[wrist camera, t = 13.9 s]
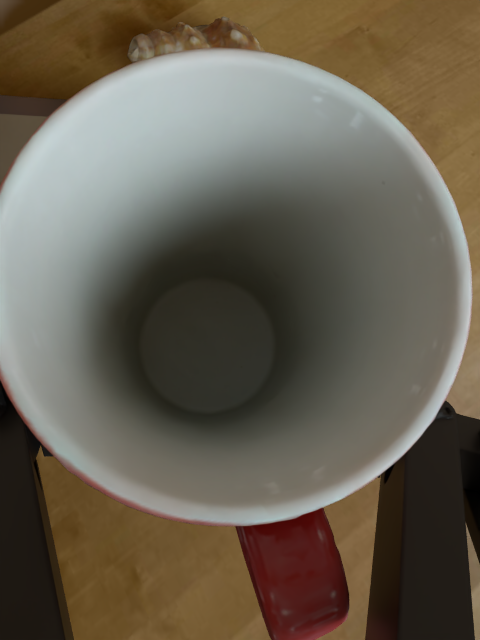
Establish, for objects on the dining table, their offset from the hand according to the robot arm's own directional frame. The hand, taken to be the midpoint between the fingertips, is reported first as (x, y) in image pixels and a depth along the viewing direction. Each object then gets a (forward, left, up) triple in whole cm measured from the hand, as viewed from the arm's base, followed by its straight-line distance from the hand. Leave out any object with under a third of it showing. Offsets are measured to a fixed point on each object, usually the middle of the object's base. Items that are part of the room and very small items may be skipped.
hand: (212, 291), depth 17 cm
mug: (0, -3, -5) cm, 6 cm away
